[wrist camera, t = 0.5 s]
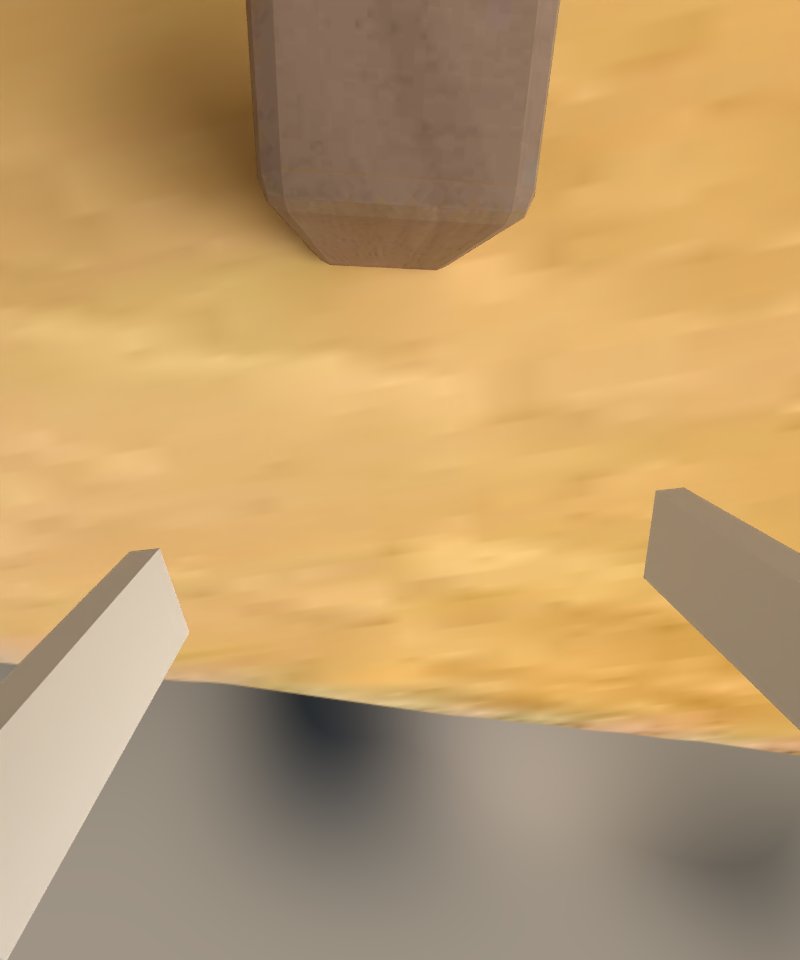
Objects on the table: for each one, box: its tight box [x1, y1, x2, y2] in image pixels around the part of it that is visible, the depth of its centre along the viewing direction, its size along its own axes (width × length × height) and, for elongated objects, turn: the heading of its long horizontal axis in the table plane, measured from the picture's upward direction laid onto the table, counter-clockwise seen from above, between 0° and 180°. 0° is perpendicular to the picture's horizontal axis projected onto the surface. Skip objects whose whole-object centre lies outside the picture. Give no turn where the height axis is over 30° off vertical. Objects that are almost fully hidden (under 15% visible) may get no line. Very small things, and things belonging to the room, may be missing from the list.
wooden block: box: [246, 0, 560, 270], centre depth 22 cm, size 10×10×20 cm
